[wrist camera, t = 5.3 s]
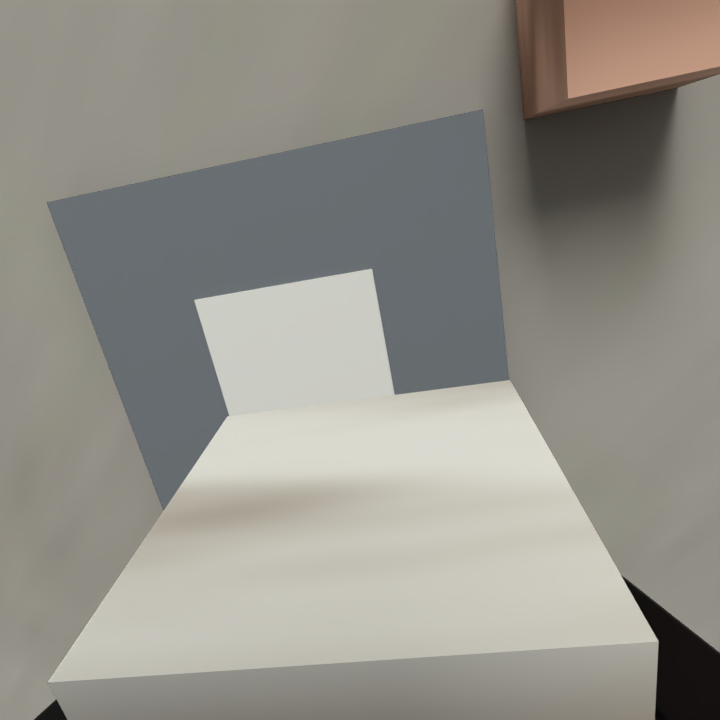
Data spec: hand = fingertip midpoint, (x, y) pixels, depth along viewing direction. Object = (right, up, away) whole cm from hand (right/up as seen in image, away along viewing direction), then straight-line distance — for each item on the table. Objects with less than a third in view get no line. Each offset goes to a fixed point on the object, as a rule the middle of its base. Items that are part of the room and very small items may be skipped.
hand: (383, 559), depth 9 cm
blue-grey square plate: (-3, +3, +12) cm, 13 cm away
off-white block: (0, 0, +1) cm, 1 cm away
